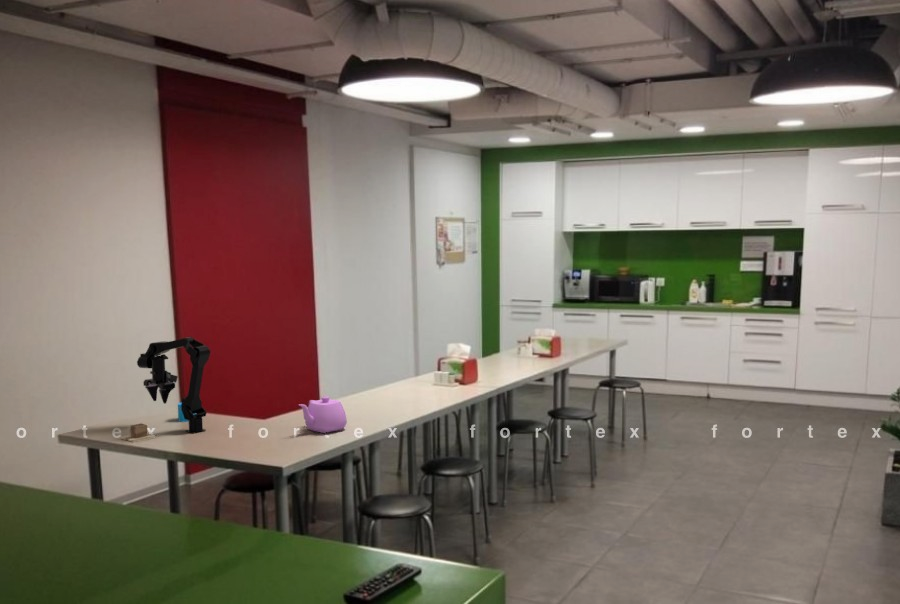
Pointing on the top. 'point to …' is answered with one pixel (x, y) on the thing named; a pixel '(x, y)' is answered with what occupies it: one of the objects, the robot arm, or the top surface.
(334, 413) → the teapot
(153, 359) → the robot arm
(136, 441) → the birch coaster
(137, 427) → the walnut cube
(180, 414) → the mug
